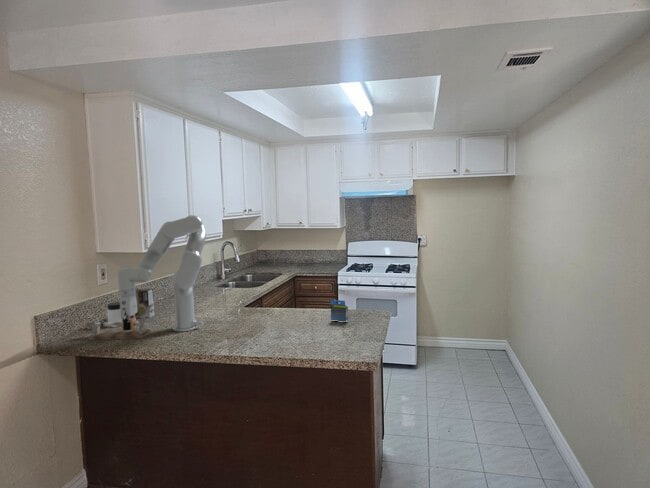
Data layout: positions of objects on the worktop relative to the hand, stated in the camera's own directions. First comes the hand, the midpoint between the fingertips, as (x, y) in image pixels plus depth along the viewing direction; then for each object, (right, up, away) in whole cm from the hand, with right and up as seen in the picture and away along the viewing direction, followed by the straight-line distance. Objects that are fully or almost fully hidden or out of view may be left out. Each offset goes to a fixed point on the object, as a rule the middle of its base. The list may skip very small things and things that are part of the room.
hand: (129, 328), depth 211 cm
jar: (-16, -3, +20) cm, 26 cm away
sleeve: (0, 0, 0) cm, 0 cm away
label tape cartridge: (+106, 0, +18) cm, 108 cm away
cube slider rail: (-5, -4, 0) cm, 6 cm away
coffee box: (-8, -1, +38) cm, 39 cm away
